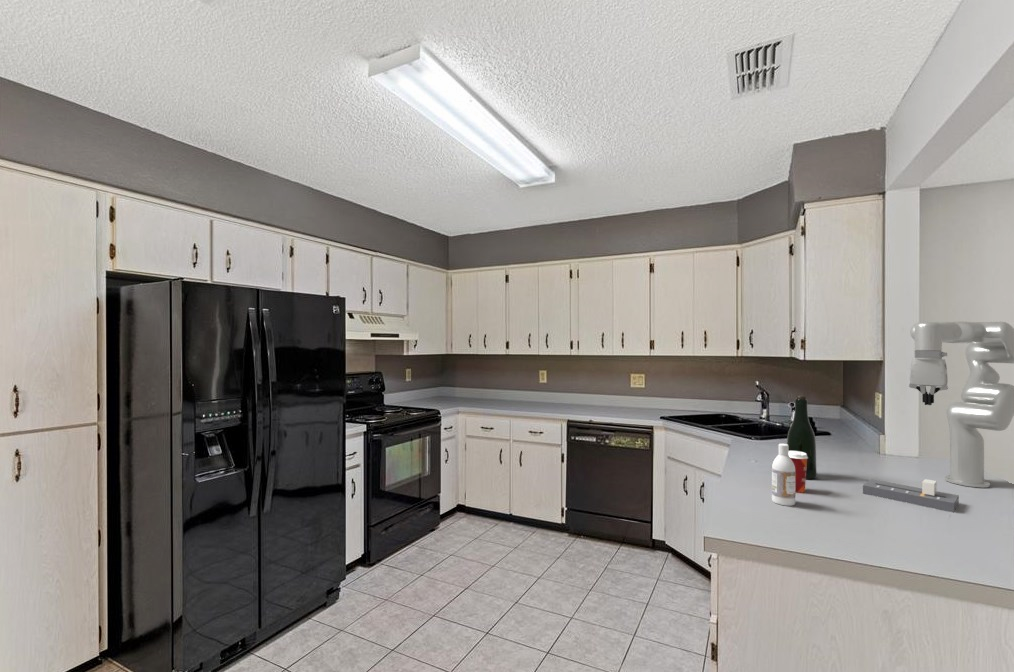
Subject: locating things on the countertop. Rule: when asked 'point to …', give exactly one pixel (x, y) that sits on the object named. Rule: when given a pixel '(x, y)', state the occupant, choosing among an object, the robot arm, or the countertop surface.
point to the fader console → (911, 495)
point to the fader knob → (929, 487)
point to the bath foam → (783, 478)
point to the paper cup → (799, 469)
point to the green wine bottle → (803, 436)
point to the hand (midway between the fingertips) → (928, 404)
